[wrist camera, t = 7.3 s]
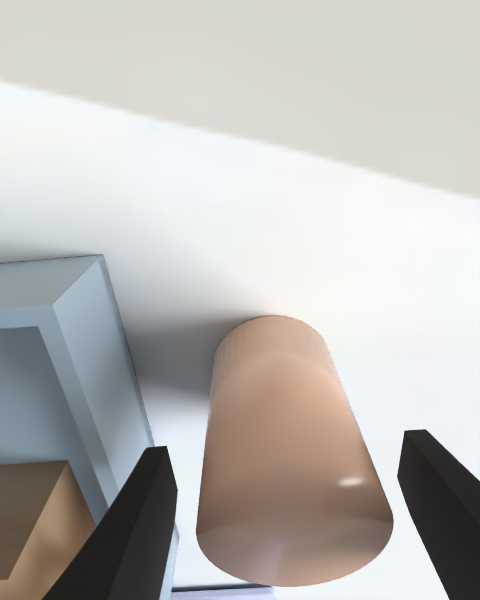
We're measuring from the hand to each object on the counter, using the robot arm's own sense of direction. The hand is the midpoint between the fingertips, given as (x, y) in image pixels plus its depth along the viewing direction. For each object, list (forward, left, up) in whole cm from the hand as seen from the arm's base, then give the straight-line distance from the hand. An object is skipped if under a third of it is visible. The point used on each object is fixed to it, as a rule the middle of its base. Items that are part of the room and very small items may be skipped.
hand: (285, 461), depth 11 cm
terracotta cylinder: (0, 0, -5) cm, 5 cm away
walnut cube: (-7, +13, -4) cm, 15 cm away
